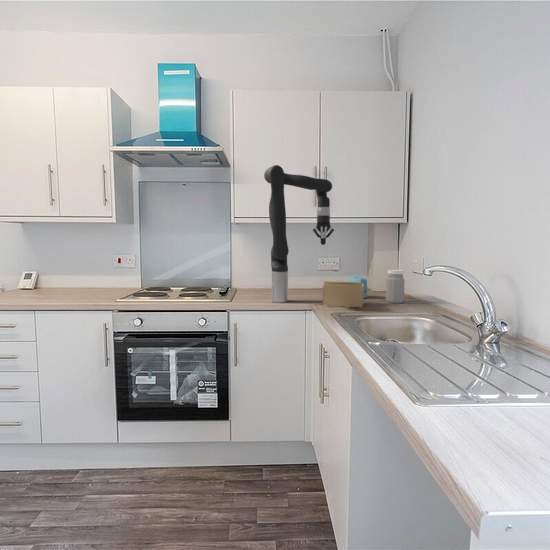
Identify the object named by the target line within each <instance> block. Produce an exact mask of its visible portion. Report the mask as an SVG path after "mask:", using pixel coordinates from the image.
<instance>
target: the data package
mask: <svg viewBox="0 0 550 550" xmlns="http://www.w3.org/2000/svg"><path fill="white" fill-rule="evenodd" d="M349 282H361V283H363V284H364V299H366V298H367V297H368V295H367V294H368V279H367V278H365V277H360V276H351V277H350V278H349ZM362 299H363V295H362Z"/></svg>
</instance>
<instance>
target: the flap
mask: <svg viewBox="0 0 550 550" xmlns="http://www.w3.org/2000/svg"><path fill="white" fill-rule="evenodd" d="M324 284H325V285H343V286H361V282H350V281H341V280H339V281H338V280H337V281H336V280H335V281H334V280H323V285H324Z"/></svg>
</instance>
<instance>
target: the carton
mask: <svg viewBox="0 0 550 550" xmlns="http://www.w3.org/2000/svg"><path fill="white" fill-rule="evenodd" d="M362 295H363V298H362ZM364 299H365V298H364V284H363V283H361V286H343V285H325V284H324V283H323V285H322V304H323V306H324V305H328V306H327V307H339V306H345V308H363V306H364V301H365V300H364Z"/></svg>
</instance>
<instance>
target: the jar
mask: <svg viewBox="0 0 550 550" xmlns="http://www.w3.org/2000/svg"><path fill="white" fill-rule="evenodd" d="M385 279H386V282H385V285H386V286H385V302H387V303H388V302H390V303H389V304H397V303H398V304H403V303H404V301H405V283H406V282H405V281H406V280H405V278H404V270H403V269H388V270H387V277H386V278H385ZM402 302H403V303H402Z"/></svg>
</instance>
